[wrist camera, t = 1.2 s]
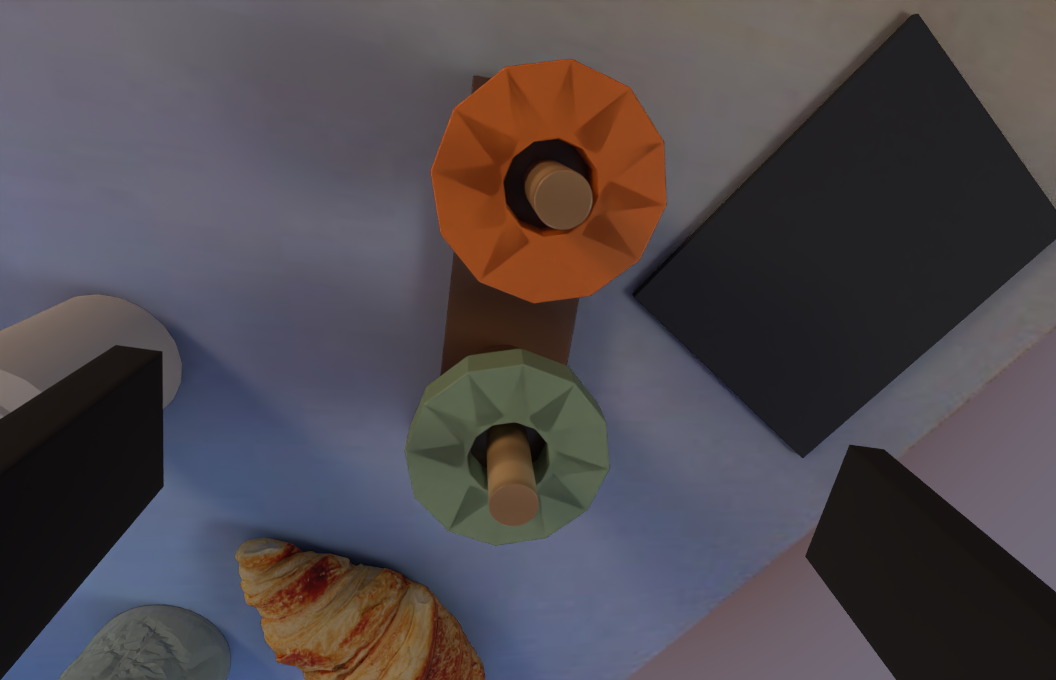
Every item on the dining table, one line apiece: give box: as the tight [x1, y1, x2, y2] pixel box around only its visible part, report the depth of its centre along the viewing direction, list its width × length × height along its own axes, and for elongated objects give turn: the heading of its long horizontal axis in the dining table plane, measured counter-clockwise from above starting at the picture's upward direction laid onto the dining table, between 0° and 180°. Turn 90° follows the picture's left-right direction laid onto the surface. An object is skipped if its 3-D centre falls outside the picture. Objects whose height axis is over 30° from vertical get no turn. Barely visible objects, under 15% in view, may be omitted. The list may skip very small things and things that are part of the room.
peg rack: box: [440, 76, 593, 526], centre depth 29 cm, size 20×7×13 cm, turn 172°
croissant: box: [235, 538, 485, 680], centre depth 40 cm, size 21×10×8 cm, turn 46°
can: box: [0, 294, 182, 419], centre depth 29 cm, size 8×8×12 cm
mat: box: [633, 14, 1056, 458], centre depth 36 cm, size 20×16×1 cm
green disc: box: [405, 349, 610, 546], centre depth 29 cm, size 9×9×2 cm
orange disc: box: [431, 59, 667, 303], centre depth 25 cm, size 9×9×2 cm
